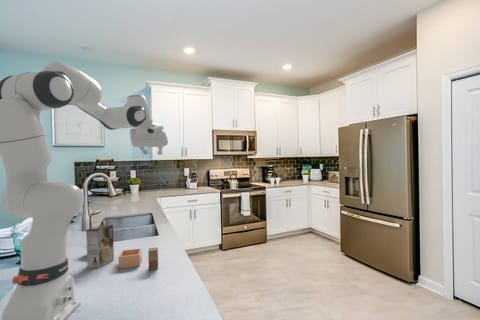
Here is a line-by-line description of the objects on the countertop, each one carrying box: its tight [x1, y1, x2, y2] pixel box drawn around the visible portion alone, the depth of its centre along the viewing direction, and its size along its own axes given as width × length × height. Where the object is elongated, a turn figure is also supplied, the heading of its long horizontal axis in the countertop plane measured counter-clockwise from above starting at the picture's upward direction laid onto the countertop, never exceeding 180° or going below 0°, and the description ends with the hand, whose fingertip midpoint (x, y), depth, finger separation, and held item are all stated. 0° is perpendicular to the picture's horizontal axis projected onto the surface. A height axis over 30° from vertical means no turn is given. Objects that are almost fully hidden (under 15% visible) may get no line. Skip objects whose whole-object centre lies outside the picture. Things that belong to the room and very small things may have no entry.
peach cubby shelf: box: [118, 248, 143, 269], centre depth 113 cm, size 8×8×5 cm
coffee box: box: [85, 224, 115, 268], centre depth 114 cm, size 9×6×16 cm
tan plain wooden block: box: [147, 247, 159, 271], centre depth 108 cm, size 4×4×8 cm
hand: (152, 154), depth 131 cm, fingers open, 8 cm apart
